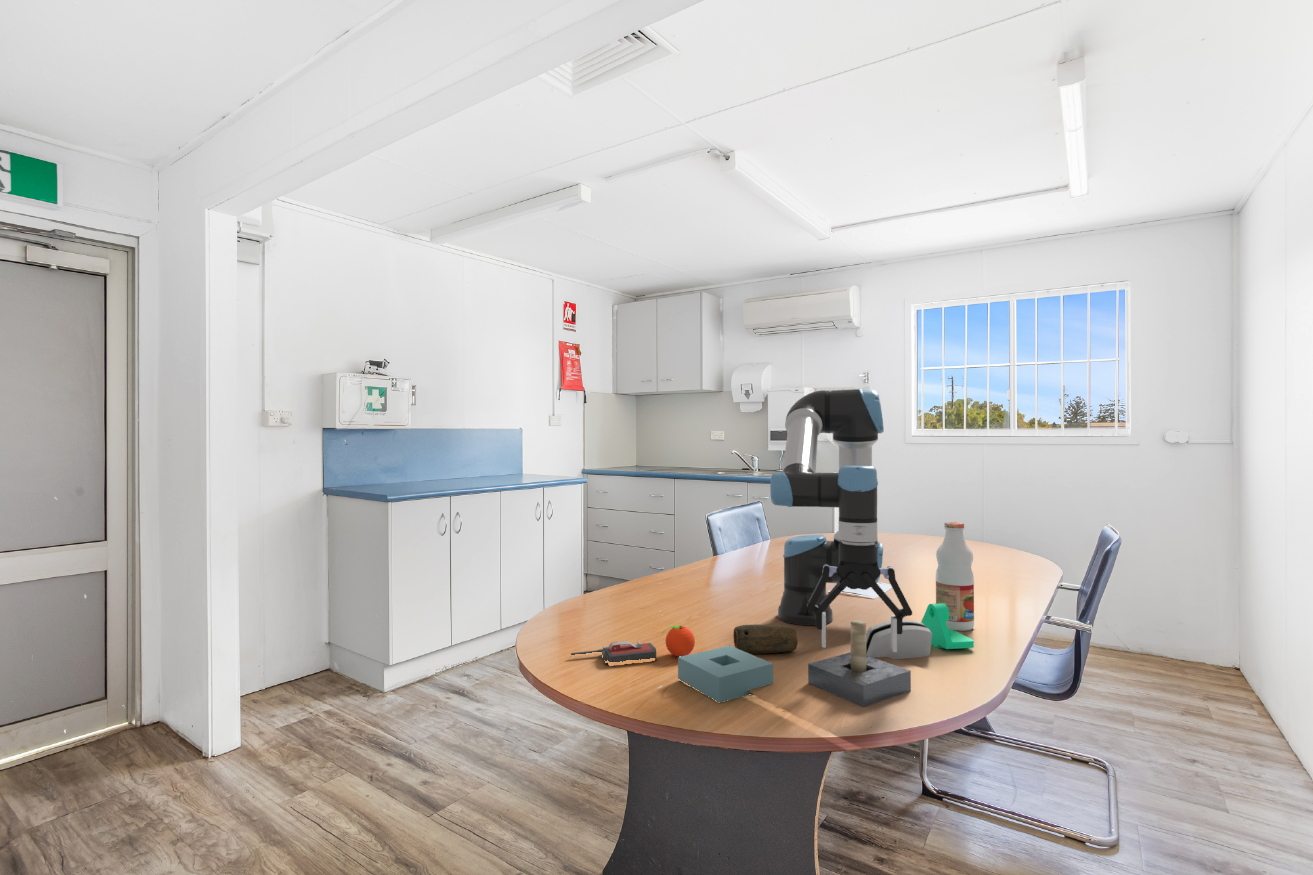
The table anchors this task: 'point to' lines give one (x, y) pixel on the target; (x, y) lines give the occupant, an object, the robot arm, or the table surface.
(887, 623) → the grey rounded slab
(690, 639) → the clementine
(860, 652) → the pin
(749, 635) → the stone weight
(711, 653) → the socket block
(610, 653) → the walkie-talkie
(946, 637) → the camera mount
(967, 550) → the fruit juice
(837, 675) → the mount block
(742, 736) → the table surface
